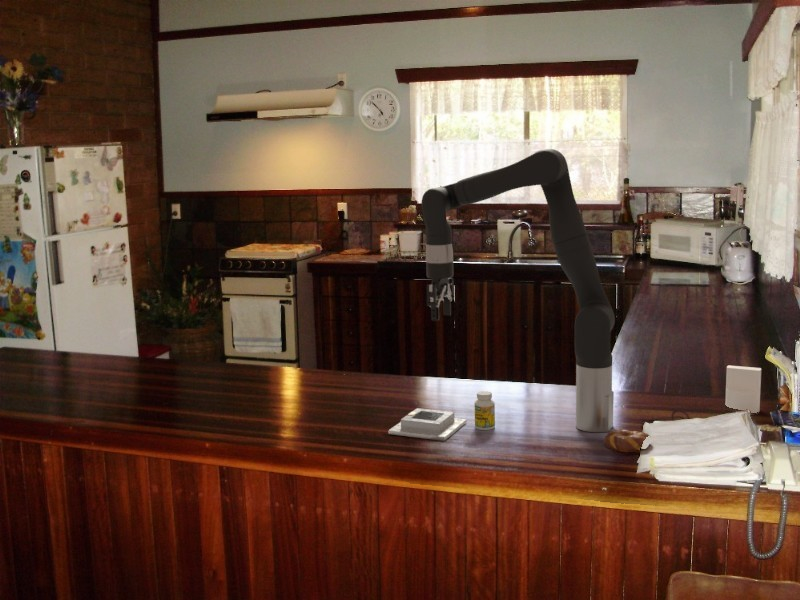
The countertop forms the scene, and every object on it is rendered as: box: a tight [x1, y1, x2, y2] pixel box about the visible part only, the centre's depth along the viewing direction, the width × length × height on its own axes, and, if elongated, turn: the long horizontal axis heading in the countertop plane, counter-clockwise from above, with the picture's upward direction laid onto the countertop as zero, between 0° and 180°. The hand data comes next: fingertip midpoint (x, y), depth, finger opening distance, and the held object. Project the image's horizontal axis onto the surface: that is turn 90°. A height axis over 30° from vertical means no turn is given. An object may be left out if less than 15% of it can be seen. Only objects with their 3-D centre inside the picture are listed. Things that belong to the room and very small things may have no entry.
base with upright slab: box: [724, 364, 762, 414], centre depth 249 cm, size 9×9×12 cm
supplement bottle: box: [474, 390, 496, 431], centre depth 239 cm, size 5×5×10 cm
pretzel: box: [603, 429, 650, 453], centre depth 223 cm, size 12×11×4 cm
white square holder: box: [388, 407, 467, 442], centre depth 240 cm, size 16×16×4 cm
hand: (441, 317), depth 250 cm, fingers open, 8 cm apart
